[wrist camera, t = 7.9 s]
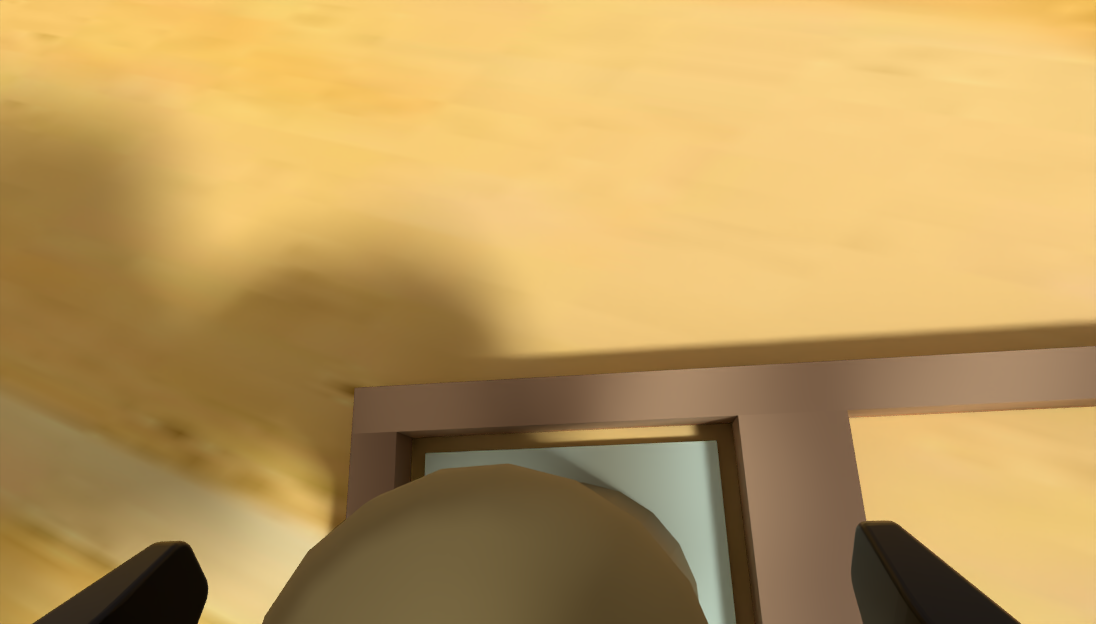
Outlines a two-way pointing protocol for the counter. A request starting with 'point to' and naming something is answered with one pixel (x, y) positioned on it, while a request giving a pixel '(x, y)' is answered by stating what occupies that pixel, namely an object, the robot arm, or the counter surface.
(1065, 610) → the counter surface
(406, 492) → the cork
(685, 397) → the brown wooden frame
